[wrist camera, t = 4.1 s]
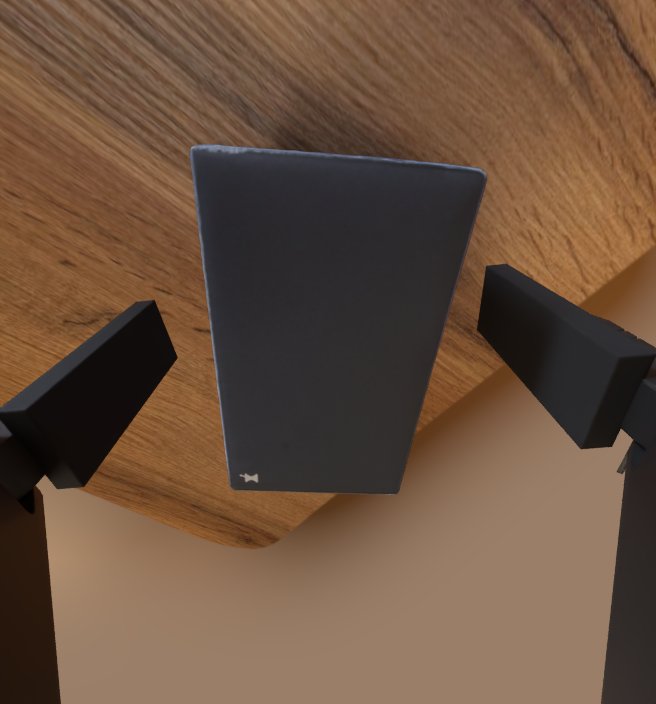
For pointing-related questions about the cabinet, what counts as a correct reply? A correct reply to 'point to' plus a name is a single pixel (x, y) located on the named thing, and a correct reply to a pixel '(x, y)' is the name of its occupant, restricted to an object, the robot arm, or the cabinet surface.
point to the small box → (326, 307)
